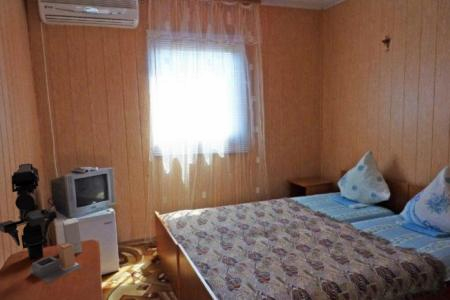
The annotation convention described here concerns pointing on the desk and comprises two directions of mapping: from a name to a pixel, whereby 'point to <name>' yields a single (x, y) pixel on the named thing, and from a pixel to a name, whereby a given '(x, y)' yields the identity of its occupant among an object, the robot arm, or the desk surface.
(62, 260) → the plug
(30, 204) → the robot arm
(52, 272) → the socket block
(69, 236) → the skincare box
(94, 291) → the desk surface
